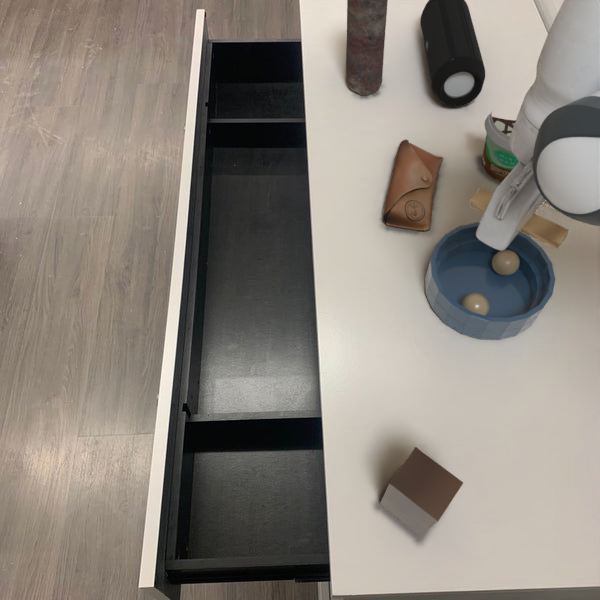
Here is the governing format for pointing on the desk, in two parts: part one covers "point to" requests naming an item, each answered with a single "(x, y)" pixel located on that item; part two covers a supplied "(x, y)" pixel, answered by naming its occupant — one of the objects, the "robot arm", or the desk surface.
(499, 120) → the food container
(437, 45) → the portable speaker
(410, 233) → the desk surface
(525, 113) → the robot arm
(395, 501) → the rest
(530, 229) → the tan wooden bar
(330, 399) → the desk surface
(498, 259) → the ball
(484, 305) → the ball
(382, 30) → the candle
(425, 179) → the sunglasses case
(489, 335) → the bowl
